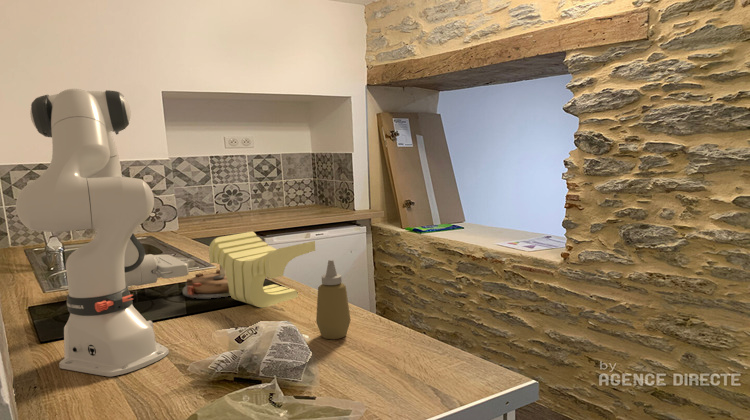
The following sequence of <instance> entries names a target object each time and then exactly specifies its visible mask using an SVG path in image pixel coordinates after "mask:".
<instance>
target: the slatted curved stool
mask: <svg viewBox="0 0 750 420" xmlns="http://www.w3.org/2000/svg"><path fill="white" fill-rule="evenodd" d="M315 251H316V240H313V241H309V242H304V243H299V244H294V245H289V246H285V247H280V248H275V247H273V246H271V245H269V244H268V243H266V242H265V241H263V239H262V238H260V237H259V236H257V234H256V232H254V231H247V232H241V233H236V234H235V233H234V234H230V235H225V236H224V235H223V236H218V237H216V238H214V239H212V241H211V242H210V244H209V246H208V259H209V265H210V264H217V265H219V264H220V265H219V267H220V266H221V267H222V268H223V269H225V273H226V277H227V281H228V286H229V293H230V296H231V299H234V300H235V301H238V302H242V303H245V304H248V305H252V306H253V307H257V308H263V309H264V308H268V307H270V306H274V305H276V304H281V303H284V302H286V301H290V300H294V299H297V298H299V294H298V291H297V289H294V288H289V287H285V286H282V285H281V286H280V285H279V284H276V283H275V284H269V285H265V286H264V282H265V279H266V278H268V279H275V278H279V277H283V276H284V274H285V269H286V267H287V265H288V264H289V262H291V261H292V260H293V259H296V258H297V257H301V256H303V255H306V254H309V253H313V252H315Z"/></svg>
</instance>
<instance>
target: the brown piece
mask: <svg viewBox="0 0 750 420" xmlns="http://www.w3.org/2000/svg"><path fill="white" fill-rule="evenodd" d="M218 265H219V269H216V270H215V271H216V272H210V273H201V272H199V273H195V276H194V277H192V278H191V277H190V278H187V279H186V286H194V293H198V294H215V293H224V292H229V286H228V281H227V277H226V273H225V269H223V268H222V267H221V266H220V264H218Z"/></svg>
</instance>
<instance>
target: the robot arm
mask: <svg viewBox="0 0 750 420" xmlns="http://www.w3.org/2000/svg"><path fill="white" fill-rule="evenodd" d="M30 106H31V107H30V118H31V119H30V121H31V123H32V124H33V126H34V128H35V129H36V131H37V132H38V133H39V134H40V135H42V136H44V137H46V138H52V140H51V141H52V142H51V143H52V156H51V161H50V163H49V166H48V167H47V169H45V171H44V172H43V173H42V174H41V175H40V176H39V177H38V178H36V179H35V180H33V181H32V182H30V183H28V184H26V185H24V186H23V188H22V189H21V190H20V191H19V193H18V195H17V198H16V201H15V212H16V215H17V217H18V219H19V221H20V222H21V223H22V225H24V227H26V228H27V229H29V230H30V231H35V232H43V233H44V232H46V233H49V232H50V233H61V232H72V231H83V230H95V231H96V234H95V236H94V238H92V240H91V241H89V242H87V243H85V244H83V245H82V246H79V248H76V249H75V250H74V251H72V252H71V254H69V256H68V257H67V259H66V261H65V262H66V263H65V270H66V272H65V273H66V279H67V280H66V281H67V289H68V294H67V295H66V306H67V312H69V317H68V318H67V319H68V320H67V322H66V324H65V325H64V327H63V340H64V341H63V343H64V344H63V346H64V350H63V351H64V358H63V359H62V360H60V362H59V363H58V365H59V369H62V370H68V371H74V372H80V373H86V374H91V375H98V376H103V377H104V376H105V377H108V378H109V377H115V376H119V375H124V374H127V373H130V372H131V373H132V372H134V371H137V370H139V369H142V368H144V367H147V366H149V365H151V364H154V363H155V362H158V361H160V360H161V359H163V358H165V357H166V356H167V355H168V354H169V353H170V352H169V348H168V347H166V346H164V345H162V344H161V343H159V342H157V341H156V335H155V330H154V323H153V321H152V320H146V318H144V316H143V315H142V314H141V313H140V311H138V310H137V309H136V308H135V307H134V305H133V303H134V302H133V300H134V298H132V297H133V296H134V294H131V291H130V289H129V287H128V286H130V287H132V286H137V287H138V286H143V285H150V284H155V283H157V282H158V279H161V278H162V279H172V278H173V279H174V278H180V277H186V276H188V275H189V274H190V273H189V267H193V266H195V265H196V260H195V259H193V258H186V259H185V258H179V259H178V258H176V257H175V256H172V255H170V254H151V253H149V254H146V251H145V248H144V246H143V245H144V244H142V242H141V241H140V240H138V239H139V238H137V236H135V234H134V232H135V231H136V230H137V228H138V227H139V226H140V225H141V224H143V223H144V222H145V221H147V219H148V218H149V217H150V216H151V214H152V212H153V210H154V207H155V197H154V193H153V190H152V188H151V187H150V185H149V184H148V183H147V182H146V181H145V180H144V179H142V178H137V177H136V178H135V177H128V176H122V173H121V171H122V169H121V162H120V158H119V153H118V152H119V151H118V149H117V146H116V141H115V139H114V136H113V134H112V132H114V134H115V135H117V136H118V135H119V132H122V131H124V130H126V128H127V127H128V126H129V124H130V121H131V120H130V119H131V116H132V114H131V112H132V111H131V108H130V105H129V103H128V101H127V99H126V98H125V96H124V94H122V93H121V92H120V91H117V90H107V89H106V90H105V91H102V90H101V91H99V90H96V91H95V90H90V91H89V90H87V91H86V90H83V89H80V88H69V89H65V90H62V91H60V92H59V93H55V94H50V95H49V94H44V95H41V96H37V97H35V99H34V100H33V101H32V102H31V104H30Z"/></svg>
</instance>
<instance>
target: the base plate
mask: <svg viewBox="0 0 750 420" xmlns="http://www.w3.org/2000/svg"><path fill="white" fill-rule="evenodd" d="M182 295H183V296H184V297H186V298H189V299H194V298H196V300H212V299H211V298H217V299H222V298H221V297H225V298H229V297H228V296H230V293H229V292H224V293H215V294H198V293H194V286H187V285H185V286H184V287H183V288H182Z"/></svg>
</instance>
